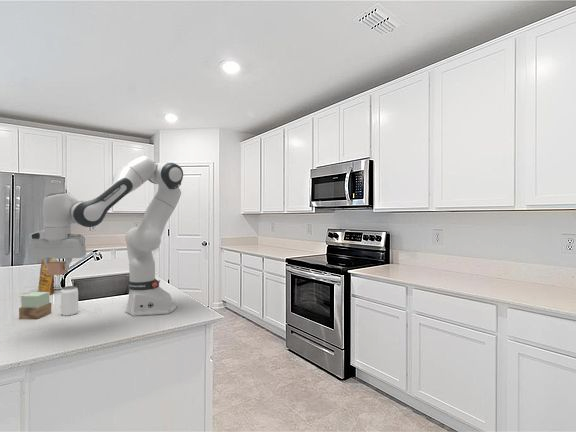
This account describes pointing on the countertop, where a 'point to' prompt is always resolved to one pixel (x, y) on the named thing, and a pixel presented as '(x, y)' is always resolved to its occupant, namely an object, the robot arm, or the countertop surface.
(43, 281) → the pancake mix bag
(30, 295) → the tower top
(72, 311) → the can
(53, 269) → the cube
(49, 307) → the tower base
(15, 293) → the countertop surface
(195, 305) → the countertop surface
